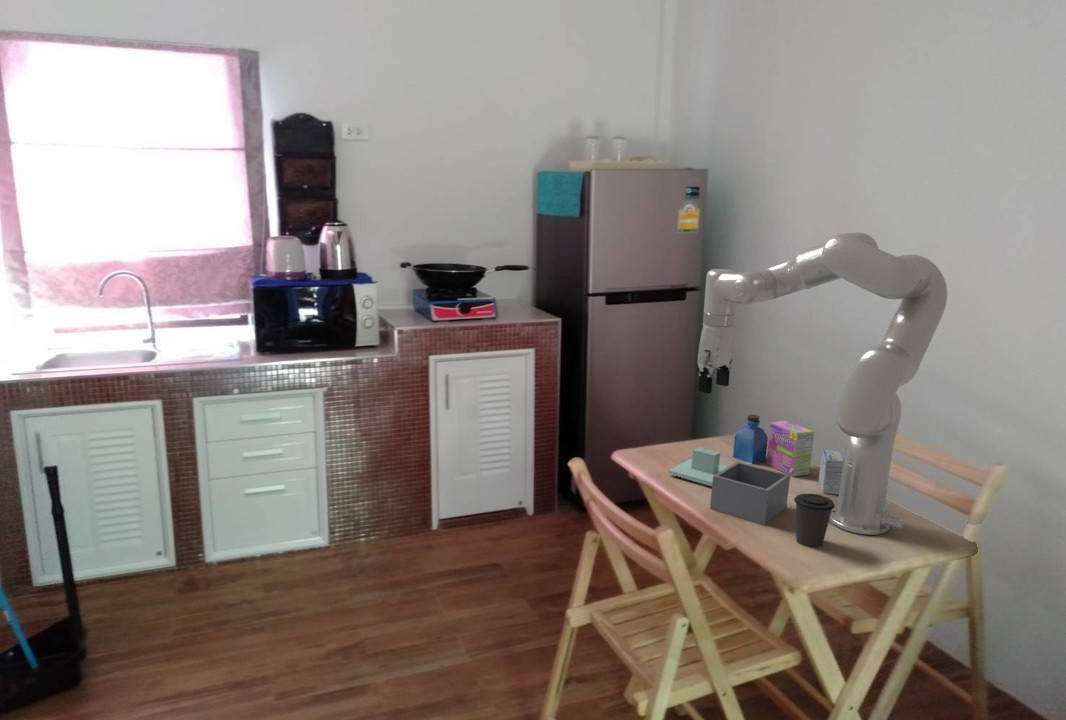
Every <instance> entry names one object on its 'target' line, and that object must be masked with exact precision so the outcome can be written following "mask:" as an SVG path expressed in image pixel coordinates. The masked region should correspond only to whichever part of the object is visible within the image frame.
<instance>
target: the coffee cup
mask: <svg viewBox="0 0 1066 720" xmlns="http://www.w3.org/2000/svg"><path fill="white" fill-rule="evenodd" d="M793 502H794V503H795V515H796V516H795V529H796V530H795V531H796V533H795V535H796V536H795V537H796V538H795V540H796V542H797V543H798V544H800V545H801V546H804V547H807V548H820V547H822V546H823V544H824V541H825V537H826V533H827V529H828V526H829V521H830V520H829V518H830V515H831V511H832V510H833V509H835V507H836V506H835V502H834V501H833V500H832V499H831V498H829V497H827V496H824V495H820V494H817V493H816V494H815V493H802V494H801V493H799V494H797V495H796V496H795V497H794V499H793Z"/></svg>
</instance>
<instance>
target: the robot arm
mask: <svg viewBox="0 0 1066 720" xmlns="http://www.w3.org/2000/svg"><path fill="white" fill-rule="evenodd" d="M840 279H843V280H845V281H847V282H849V283H851V284H853V285H854V286H857V287H859V288H861V289H863V290H864V291H865V290H866V291H868V292H869V293H872V294H874V295H876V296H878V297H880V298H883V299H887V300H901V302H900V305H899V306H898V308H897V310H896V312H895V313H894V315H893V317H892V319H891V320H890V323H889V326H888V328H887V329H886V332H885V334H884V335H883V337H882V340H881V341H880V342H879V344H877V345H874V346H873V347H870V348H868V349H867V350H866V351H864V352H863V353H862V354H861V355H860V357H858V359H857V361H856V362H855V364H854V366H853V368H852V369H851V370H852V371H851V372H850V375H849V377H848V379H847V382H846V383H845V386H844V388H843V389H842V392H841V394H840V397H839V398H838V401H837V404H836V407H835V413H834V414H835V415H834V416H835V420H836V421H835V422H836V424H837V426H838V427H839V429H840V430H841V431H842V432H843V434H845V435H846V436H847V437H846V442H845V448H844V455H843V460H844V461H843V468H842V476H841V483H840V491H839V495H838V500H837V508H833V509H832V511H831V515H830V518H829V521H830V523H831V524H833V525H834V526H835V527H838V528H839V529H841V530H844V531H847V532H851V533H854V534H859V535H866V536H868V535H869V536H872V535H873V536H875V535H881V534H885V533H887V532H888V531H889V529H890V527H892V528H895V529H898V530H902V529H903V527H904V523H905V521H904V520H902V519H901V518H902V517H901V516H898V515H893V514H890V512H888V509H889V507H888V506H887V505H885V504H886V497H887V490H888V484H889V478H890V477H889V476H890V469H891V466H892V465H891V464H892V457H893V453H894V452H893V451H894V446H895V442H896V441H895V440H896V435H897V432H898V429H899V426H900V425H899V424H900V422H901V417H902V403H901V400H900V398H899V396H898V394H897V392H898V390H899V388H900V387H902V386H904V385H906V384H908V383H909V382H910V381H912V380H913V379H914V377H915V376H916V375H917V373H918V370H919V367H920V366H921V363H922V361H923V359H924V356H925V354H926V352H927V349H928V348H929V346H930V344H931V341H932V338H933V337H934V334H935V333H936V330H937V328H938V326H939V324H940V322H941V320H942V318H943V315H944V313H945V309H946V306H947V302H948V287H947V282H946V280H945V277H944V275H943V273H942V272H941V270H940V269H939V268H938V266H937V265H936V264H935V263H934V262H933V261H931V259H928V258H926V257H924V256H922V255H917V254H904V255H900V256H899V255H898V256H896V255H893V254H891V253H889V252H887V251H885V250H882V249H879V246H878V243H877V241H876V240H875V239H874V238H873V237H872V236H871V235H869V234H868V233H864V232H845V233H844V232H843V233H839V234H837V235H834V236H832V237H831V238H830V239H829V240H828V241H826V242H823V243H821V244H819V245H815V246H812V247H809V248H805V249H803V250H800V251H798V252H797V253H796V254H795V256H794V257H793V258H792V259H790V260H788V261H785V262H783V263H779V264H777V265H773V266H770V267H768V268H764V269H761V270H751V271H744V272H737V271H736V270H733V269H726V268H725V269H724V268H714V269H713V268H712V269H709V271H707V273H706V278H705V291H704V302H703V303H704V304H703V305H704V306H703V319H702V326H703V327H702V330H701V334H700V339H699V344H698V345H699V347H698V354H697V366H698V367H697V370H698V376H699V378H698V392H700V393H705V394H711V393H712V388H713V376H712V375H713V372H714V370H715V369H716V379H715V384H716V385H719V386H722V387H728V386H729V384H730V372H731V371H730V370H731V368H732V367H731V363H732V361H733V355H734V350H733V345H734V343H733V341H734V338H733V337H734V336H733V335H734V334H733V330H734V328H735V324H736V323H735V322H736V312H737V310H736V309H737V304H738V305H746V306H747V305H753V304H757V303H763V302H768V301H772V300H775V299H778V298H780V297H785V296H787V295H790V294H794V293H796V292H800V291H803V290H809V289H812V288H815V287H818V286H821V285H825V284H826V283H827V284H828V283H831V282H833V281H834V282H835V281H836V280H840Z"/></svg>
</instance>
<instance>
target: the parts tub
mask: <svg viewBox="0 0 1066 720" xmlns="http://www.w3.org/2000/svg"><path fill="white" fill-rule="evenodd" d="M790 480H791V475H789V474H786V473H784V472H781V471H780V472H779V471H776V470H772V469H771V470H770V469H768V468H763V467H759V466H756V465H753V464H750V463H746V462H740V461H736V462H734V463H732V464H730V465H729V466H728V467H727V468H725V469H724V470H722V471H720V472H719V473H717V474H715V475H714V476H713V483H712V487H711V493H710V494H711V496H710V507H709V509H710V510H712V511H713V510H714V511H716V512H720V513H723V514H725V515H730V516H733V517H737V518H739V519H743V520H747V521H750V522H753V523H756V524H759V525H763V526H765V525H766V524H768V523H769V522H771V521H772V520H773V519H774V518H775V517H777V516H778V515H779V514H780V513H782V512H783V511H784V510H786V509H787V505H788V497H789V488H790Z"/></svg>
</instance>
